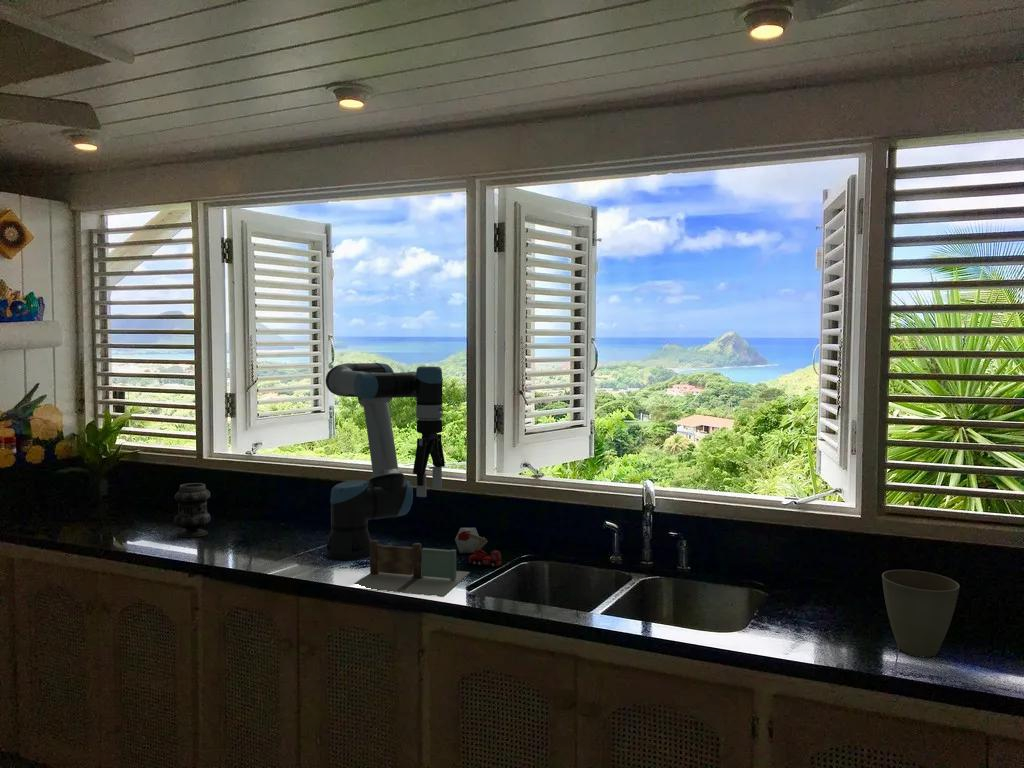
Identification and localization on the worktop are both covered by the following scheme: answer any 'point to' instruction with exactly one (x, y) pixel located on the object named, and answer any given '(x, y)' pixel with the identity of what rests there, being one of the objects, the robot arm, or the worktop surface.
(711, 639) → the worktop surface
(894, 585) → the plant pot
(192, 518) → the dark grey urn vase
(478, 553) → the toy fire truck
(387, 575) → the card
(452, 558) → the green rectangular block
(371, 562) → the base
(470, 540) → the die
